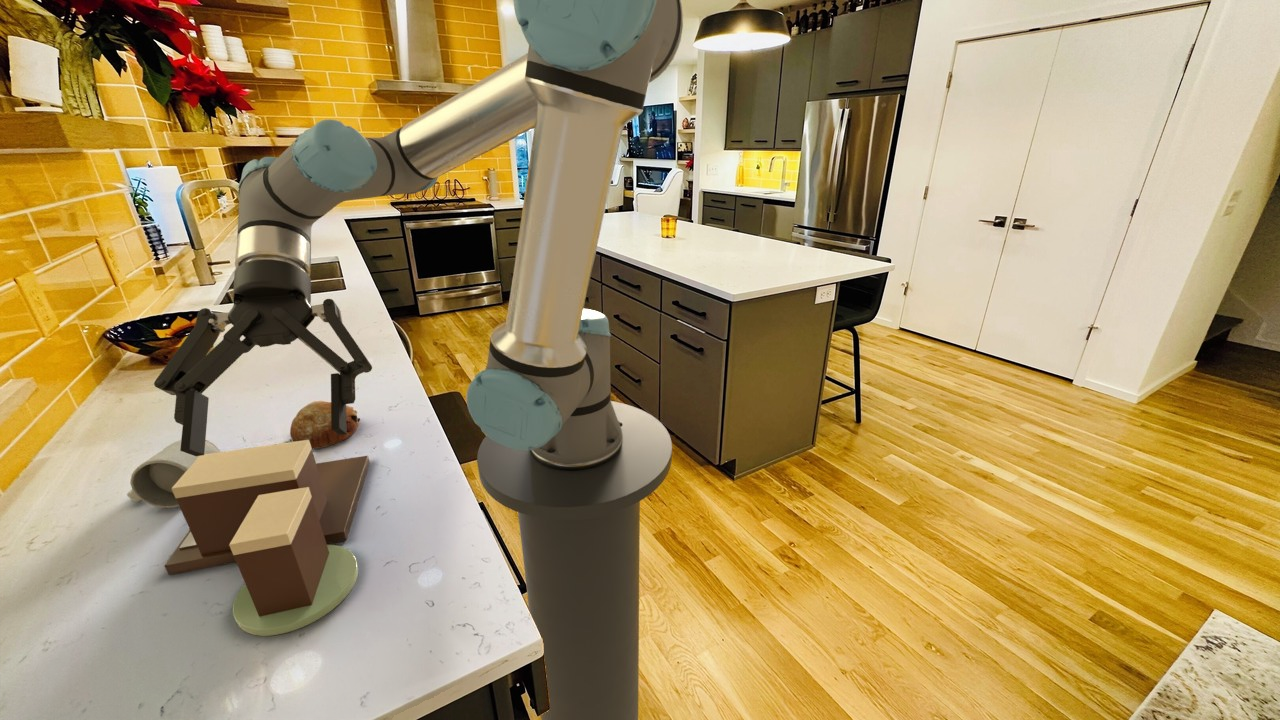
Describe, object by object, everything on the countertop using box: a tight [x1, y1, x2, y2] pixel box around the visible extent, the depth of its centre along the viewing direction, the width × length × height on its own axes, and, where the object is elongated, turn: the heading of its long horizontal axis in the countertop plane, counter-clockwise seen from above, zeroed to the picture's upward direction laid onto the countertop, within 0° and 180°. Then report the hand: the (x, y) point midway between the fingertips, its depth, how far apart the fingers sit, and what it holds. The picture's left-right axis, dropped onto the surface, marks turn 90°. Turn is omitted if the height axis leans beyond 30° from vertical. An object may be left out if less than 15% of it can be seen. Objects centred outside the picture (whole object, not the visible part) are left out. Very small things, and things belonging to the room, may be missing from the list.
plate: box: [232, 544, 359, 637], centre depth 57 cm, size 12×12×1 cm
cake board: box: [164, 455, 371, 576], centre depth 70 cm, size 19×18×2 cm
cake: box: [171, 440, 327, 556], centre depth 63 cm, size 12×7×10 cm, turn 108°
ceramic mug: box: [126, 439, 221, 509], centre depth 72 cm, size 11×8×8 cm
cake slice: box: [229, 487, 329, 617], centre depth 55 cm, size 5×8×10 cm, turn 18°
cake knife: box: [179, 532, 197, 549], centre depth 68 cm, size 14×2×1 cm, turn 18°
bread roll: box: [289, 400, 361, 449], centre depth 88 cm, size 10×10×8 cm
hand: (268, 442), depth 54 cm, fingers open, 13 cm apart
